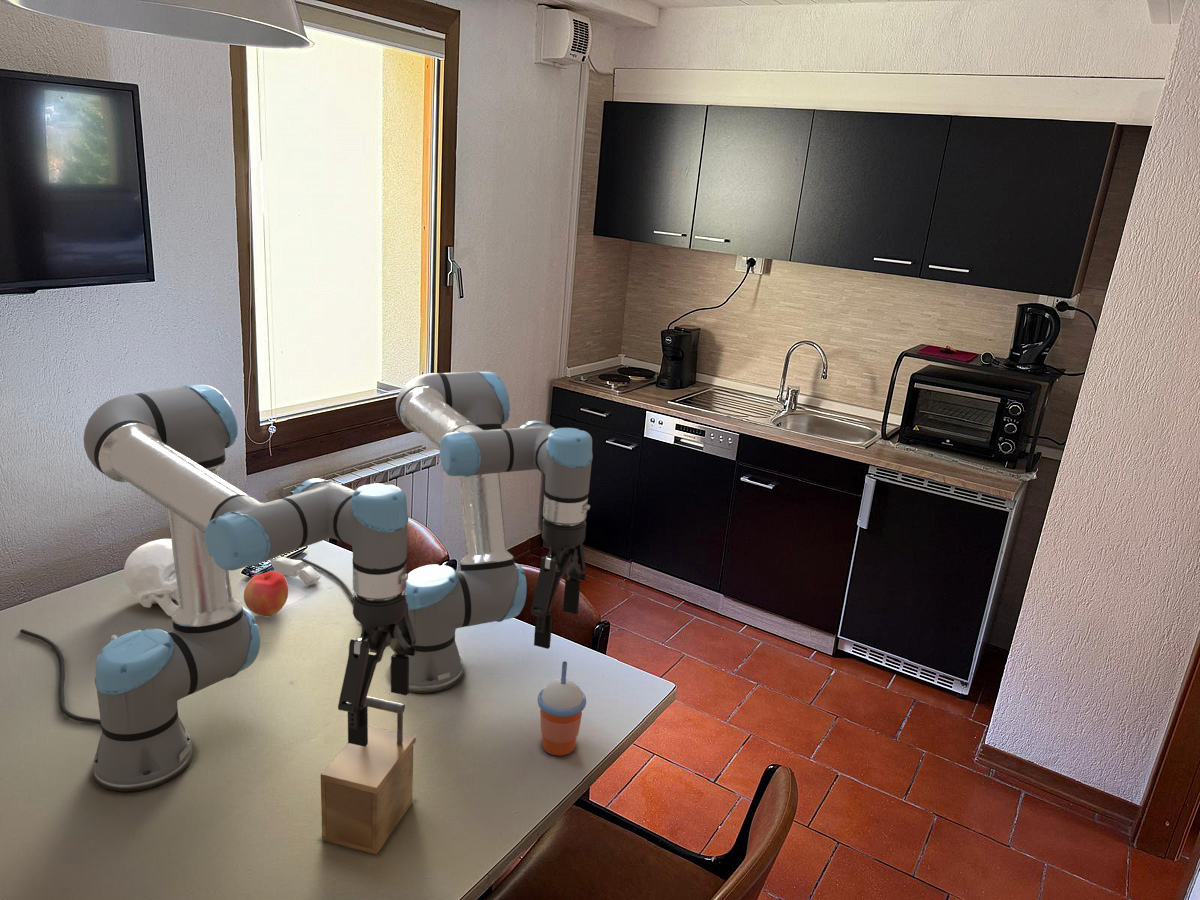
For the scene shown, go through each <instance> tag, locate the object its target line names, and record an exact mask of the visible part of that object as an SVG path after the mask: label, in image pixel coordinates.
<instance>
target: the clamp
mask: <svg viewBox="0 0 1200 900" xmlns="http://www.w3.org/2000/svg"><path fill="white" fill-rule="evenodd" d="M272 559H273V558H272ZM272 559H269V560H271V562H270V563H269V564H271V565H272V566H273V568H274V571H275V572H278V573H281V574H282V575H283V576H288V577H292V578H296V577H298V578H299V579H300V580H301V582H303V584H304V585H305V587H309V586H312V585H314V584H316V583H318V582H319V580H320V579H321V578H322V577H321V575H320V574H319V573H318V572H317V570H315V569H314V568H313V566H312V565H310V564H307V563H305V562H303V561H301V560H299V559H292V558H289V557H285V556H277V557H275V558H274V559H273V560H272ZM266 561H268V560H266ZM305 566H306V567H305ZM270 571H271V570H270Z"/></svg>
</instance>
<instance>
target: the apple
mask: <svg viewBox="0 0 1200 900" xmlns="http://www.w3.org/2000/svg"><path fill="white" fill-rule="evenodd" d="M288 597H289V584H288V581H287V579H286V577H285V575H282V574H281V573H278V572H275V571H268V570H267V571H266V572H264V573H259V574H255V575H254V576H253V577H251V578H250V579H249V580H248V582H247V583H246V585H245V587H244V590H243V601H244V604H245V607H247V609H248V610H249V611H250V612H251V613H252V614H255V615H257V616H261V617H265V618H269V617H273V616H275V615H276V614H278V613H279V612H280V611H281V610H282V609H283V607H284V606H285V605H286V603H287V600H288Z"/></svg>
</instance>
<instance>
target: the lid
mask: <svg viewBox="0 0 1200 900" xmlns="http://www.w3.org/2000/svg"><path fill="white" fill-rule="evenodd" d="M365 704H366V705H368V708H372V709H377V710H381V711H385V712H390V713H394V714H397V715H396V719H397V720H396V731H393V730H390V729H385V728H381V727H376V726H372V725H368V744H367V745H366V746H365V747H364V746H359V745H355V744H351V743H348V742H347V743H346V744H345V746H343V748H342V749H341V750H340V751H339V753H337V755H336V756H335V757H334V758H333V759H332V760H331V762H330V763H329V764H328V765H327V766H326V767H325V768H324V770H322V772H321V773H320V781H321V780H322V781H326V782H330V783H334V784H338V785H342V786H346V787H350V788H354V789H358V790H362V791H366V792H370V793H374V794H377V793H378V792H379V790H380V789H381V788H382V786H383V785H384V784H385V782H386V781H387V780H388V778H389V777H390V776H391V774H392V773H393V772H394V770H395V769H396V768H397V766H398V765H399V764H400V762H401V761H402V760H403V758H404V757H405V756H406V754H407V753H408V752H409V750H410V749H411V748H412V746H413V747H414V745H415V744H416V742H417V736H416V735H412V734H406V733H404V732H403V731H404V713H405V710H406V705H405V703H400V702H397V701H391V700H387V699H383V698H378V697H373V696H369V695H367V697H366V700H365Z"/></svg>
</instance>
